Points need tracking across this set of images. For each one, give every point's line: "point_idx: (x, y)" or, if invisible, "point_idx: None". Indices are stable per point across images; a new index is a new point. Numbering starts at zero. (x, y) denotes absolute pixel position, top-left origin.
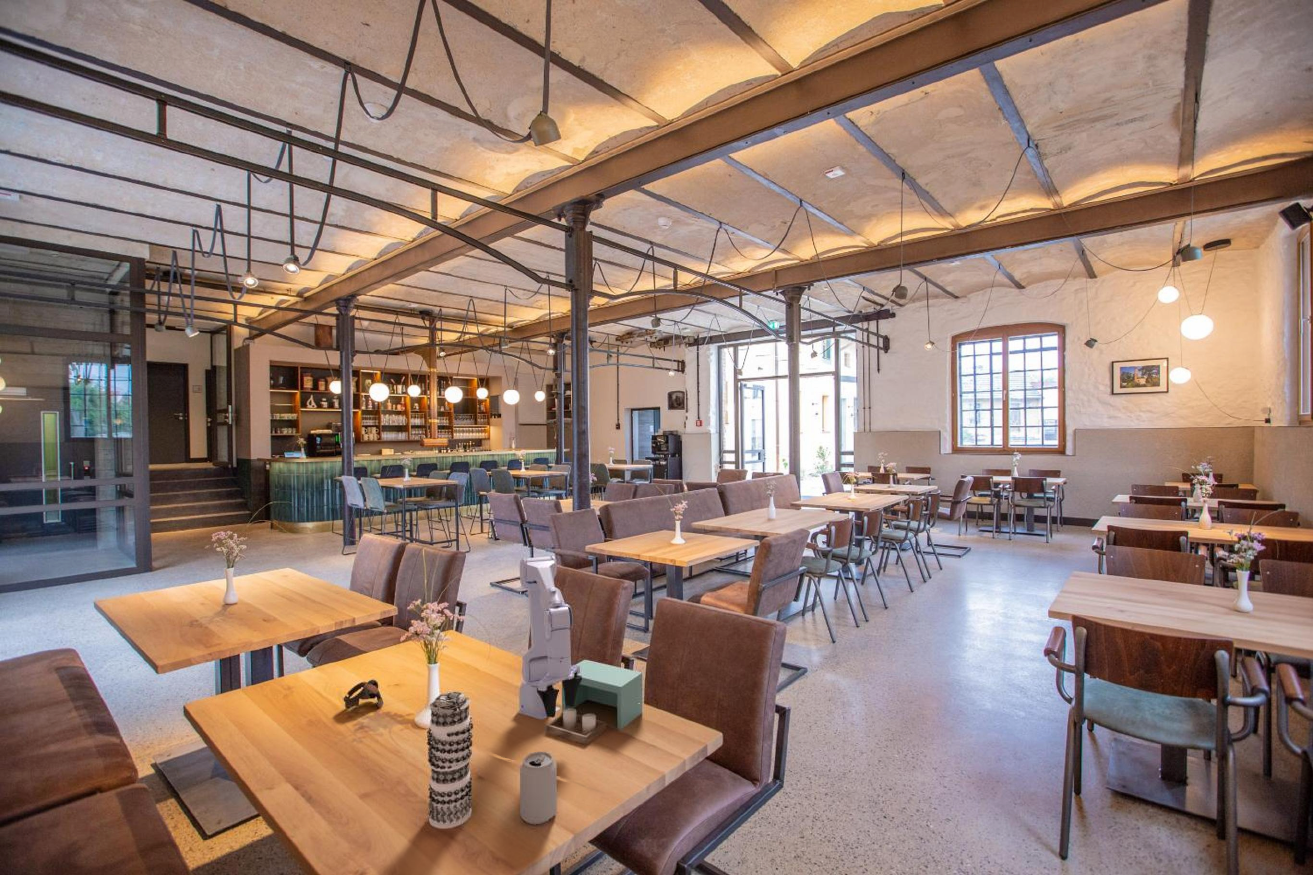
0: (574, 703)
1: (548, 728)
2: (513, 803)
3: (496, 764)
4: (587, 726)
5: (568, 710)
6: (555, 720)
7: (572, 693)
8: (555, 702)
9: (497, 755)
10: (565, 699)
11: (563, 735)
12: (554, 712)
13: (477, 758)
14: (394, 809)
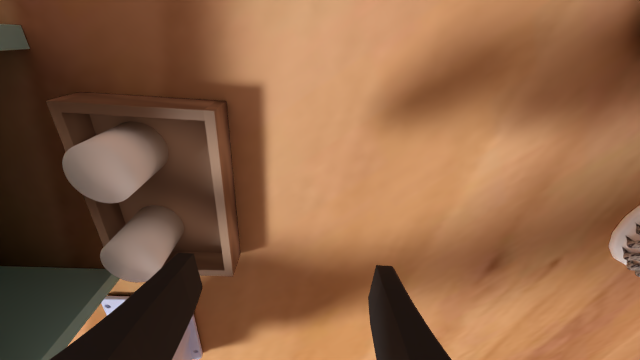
0: (48, 283)
1: (234, 262)
2: (615, 123)
3: (429, 268)
4: (145, 152)
5: (129, 268)
6: None
7: (139, 337)
8: (419, 358)
9: None
10: (187, 321)
11: (231, 205)
12: (397, 287)
13: None
14: (627, 318)
